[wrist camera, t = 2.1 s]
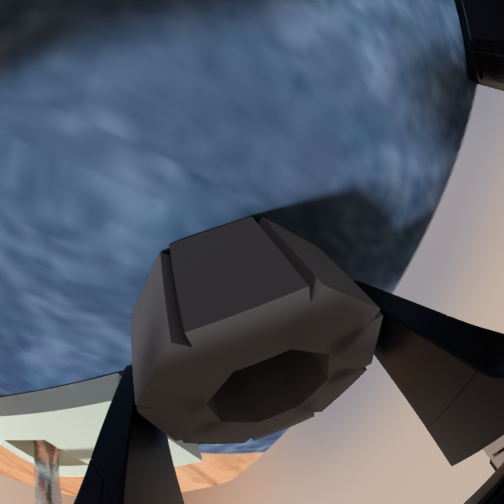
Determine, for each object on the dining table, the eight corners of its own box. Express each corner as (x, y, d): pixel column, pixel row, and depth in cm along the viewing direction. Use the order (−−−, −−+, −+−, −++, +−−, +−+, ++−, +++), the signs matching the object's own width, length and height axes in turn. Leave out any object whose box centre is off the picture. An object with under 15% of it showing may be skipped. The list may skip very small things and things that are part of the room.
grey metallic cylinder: (46, 431, 10) (50, 524, 5) (63, 442, 10) (71, 529, 6) (30, 432, 9) (32, 520, 4) (47, 443, 10) (52, 526, 5)
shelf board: (117, 372, 9) (118, 398, 8) (197, 444, 14) (202, 460, 13) (-34, 400, 7) (-38, 417, 6) (57, 463, 12) (57, 476, 11)
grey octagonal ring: (317, 195, 8) (394, 249, 5) (323, 335, 11) (362, 390, 9) (101, 269, 7) (85, 362, 4) (182, 389, 10) (199, 456, 8)
